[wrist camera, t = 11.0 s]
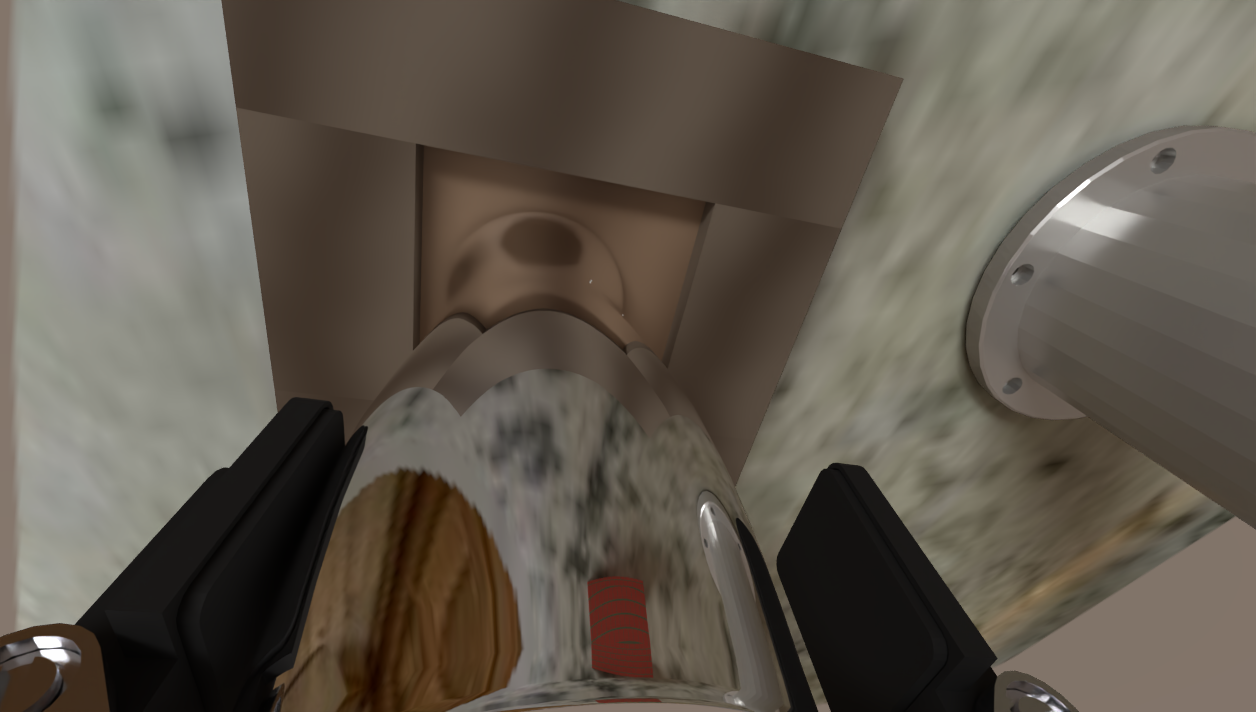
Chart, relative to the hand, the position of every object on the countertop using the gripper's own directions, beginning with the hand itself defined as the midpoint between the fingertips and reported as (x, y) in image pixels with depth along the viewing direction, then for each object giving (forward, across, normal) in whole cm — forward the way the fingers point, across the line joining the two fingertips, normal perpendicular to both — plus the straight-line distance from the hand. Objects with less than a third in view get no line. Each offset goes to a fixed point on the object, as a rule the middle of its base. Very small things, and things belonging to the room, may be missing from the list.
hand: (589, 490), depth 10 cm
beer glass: (+10, +2, 0) cm, 10 cm away
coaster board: (+10, +1, 0) cm, 11 cm away
